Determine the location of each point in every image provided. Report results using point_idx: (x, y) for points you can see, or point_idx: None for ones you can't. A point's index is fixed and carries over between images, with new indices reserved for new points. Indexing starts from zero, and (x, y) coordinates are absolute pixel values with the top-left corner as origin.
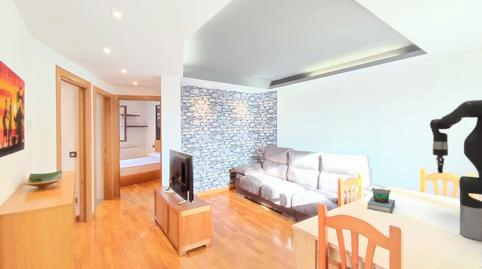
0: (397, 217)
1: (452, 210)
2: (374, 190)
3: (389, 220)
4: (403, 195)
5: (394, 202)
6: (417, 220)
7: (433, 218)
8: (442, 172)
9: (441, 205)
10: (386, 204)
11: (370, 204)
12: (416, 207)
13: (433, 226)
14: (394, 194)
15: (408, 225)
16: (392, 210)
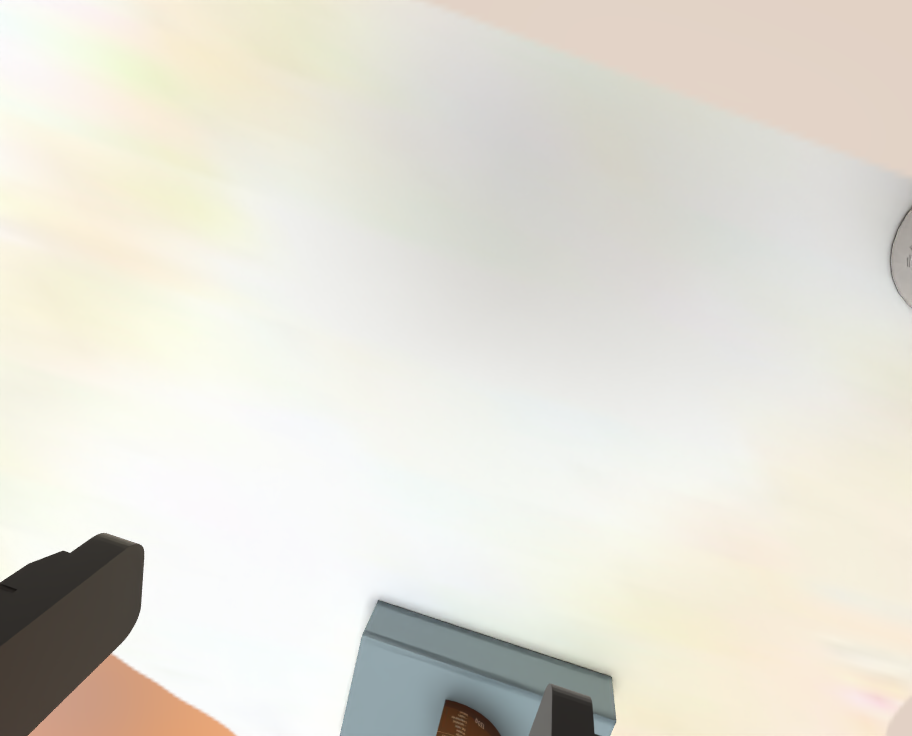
0: (696, 662)
1: (294, 164)
2: None
3: (791, 732)
4: (42, 456)
5: (389, 629)
6: (714, 542)
7: (610, 405)
8: (587, 710)
9: (181, 216)
10: None
11: None
12: (356, 450)
13: (825, 468)
14: (54, 521)
15: (864, 639)
16: (547, 660)
